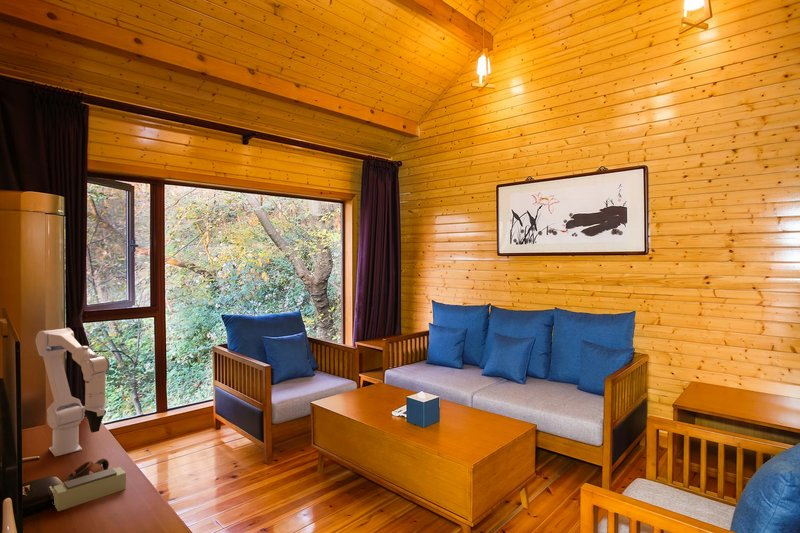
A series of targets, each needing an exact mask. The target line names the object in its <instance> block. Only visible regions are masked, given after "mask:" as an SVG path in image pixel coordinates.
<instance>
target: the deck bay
mask: <svg viewBox="0 0 800 533" xmlns="http://www.w3.org/2000/svg"><path fill="white" fill-rule="evenodd" d="M49 488H50V490H51V491H52V493H53V496H54V504H53V506H54V505H55V506H54V508H55V509H56V510H57V512H61V511H64V510H67V509H70V508H72V507H76V506H79V505H81V504H85V503H88V502H91V501H94V500H97V499H101V498H103V497H107V496H109V495H112V494H116V493H118V492H121V491H125V490H127V472H126V471H125V470H124V469H123V468H122V467H120V466H118V467H110V468H108V469H107V470H103V471H100V472H97V473H93V472H92V473H89V475H86V476H83V477H79V478H76V479H73V480H69V481H68V480H66V481H63V483H60V484H57V485H53V486H52V485H49V487H48V489H49Z"/></svg>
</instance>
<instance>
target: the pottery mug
mask: <svg viewBox="0 0 800 533" xmlns="http://www.w3.org/2000/svg"><path fill="white" fill-rule="evenodd" d="M109 463H110V462H109V460H108V459H107V458H100V459H99V460H97V461H96V462H95V463H94V462H93V461H92V460H89V461H87V462H84V463H83V464H81V465H80V466H78V467H77V468H76V469H75V470H74V472H75V474H74V473H72V472H71V473H70V474H69V475H68V476H67V478H66V481H69V480H73V479H76V478H79V477H83V476H86V475H90V472H92V474H93V473H97V472H100V471H103V470H107V469H109V465H110V464H109Z"/></svg>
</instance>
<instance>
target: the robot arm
mask: <svg viewBox="0 0 800 533" xmlns="http://www.w3.org/2000/svg"><path fill="white" fill-rule="evenodd" d="M34 341H35V346H36V350H37V353H38V355H39V356H40V357H42V358H43V362H44V366H45V370H46V373H47V378H48V382H49V386H50V391H51V393H52V398H53V402H52V403H51V404H50V405H49V406H48V407H47V409H46V415H47V416H46V422H47V425H48V427H50V428H51V429H52V446H50V447H48V448H49V451H50V452H51V453H52V454H53V456H54V457H59V456H62V455H67V454H70V453H71V454H72V453H75V452H78V451H79V452H80V451H82V450H83V448H82V447H81V445H80V444H79V439H80V438H79V431H80V430H79V427H80V426H79V425H80V424H82V422H81V421H83V420H84V419H85V417H86V419H87V423H88V426H89V430H90V432H91V433H97V432H99V431H100V428H101V424H102V422H103V419H104V417H105V415H107V410H106V407H107V406H106V405H107V402H106V378H107V377H106V375H107V374H106V373H107V372H109V369H110V368H111V366H110V365H111V364H110V363H111V362H110V360H109V358H108V357H107V355H99V354H97V353H96V352H94V350H92V348H90V347H89V346H88V345H81V344H80V342H79V341H78V340H77V339H76V338H75V333H74V331H73V330H72V329H71V328H70V327H65V328H57V329H48V330H40V331H38V333H37V334H36V337H35V340H34ZM67 351H68V352H69V353H71V358H72V360H73V361H74V362H76V363H77V364H78V365H79V366H80V367H81V372H82V374H83V376H82V377H83V380H84V382H85V383H84V386H85V387H84V388H85V390H84V391H85V392H84V393H85V394H84V398H85V399H84V403H85V404H84V406H83V404H82V403H81V402H82V401H81V399H80V398H76V397H74V396H72V393H71V390H70V386H69V382H68V377H67V374H66V371H65V366H64V363H63V358H62V355H63V354H64V353H65V352H67Z"/></svg>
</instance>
